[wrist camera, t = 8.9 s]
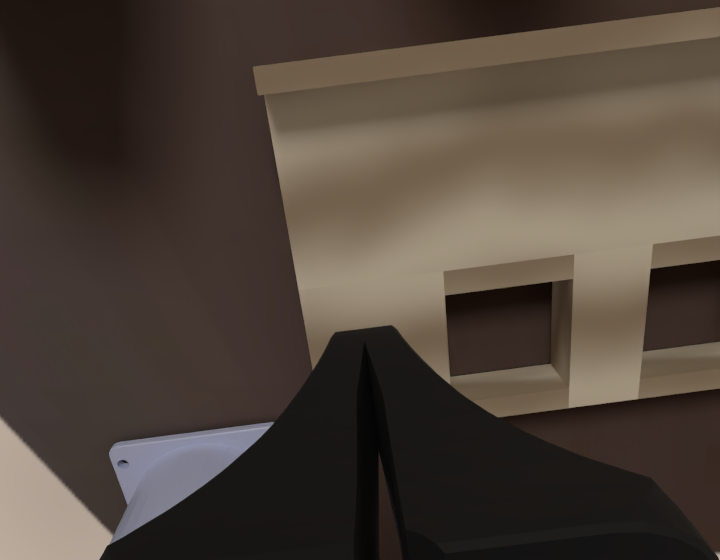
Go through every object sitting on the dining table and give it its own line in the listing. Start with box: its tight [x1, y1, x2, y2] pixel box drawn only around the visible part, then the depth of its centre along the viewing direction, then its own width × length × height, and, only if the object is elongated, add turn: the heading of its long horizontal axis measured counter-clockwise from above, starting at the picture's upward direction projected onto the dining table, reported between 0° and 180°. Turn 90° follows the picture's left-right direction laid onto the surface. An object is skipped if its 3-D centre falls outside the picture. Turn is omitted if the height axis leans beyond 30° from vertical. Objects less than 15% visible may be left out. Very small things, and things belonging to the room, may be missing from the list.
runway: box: [253, 7, 720, 417], centre depth 20 cm, size 16×24×4 cm, turn 97°
